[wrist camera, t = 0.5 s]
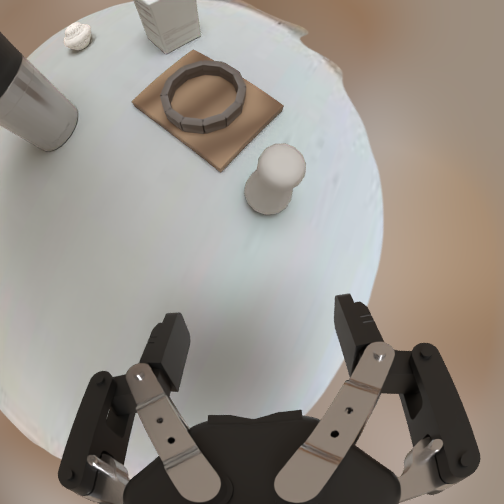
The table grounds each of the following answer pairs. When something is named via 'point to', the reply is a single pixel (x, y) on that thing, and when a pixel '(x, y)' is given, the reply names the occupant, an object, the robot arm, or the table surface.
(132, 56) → the table surface
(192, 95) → the socket base
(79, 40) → the muffin
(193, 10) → the supplement box
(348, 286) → the table surface
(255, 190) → the salt shaker
